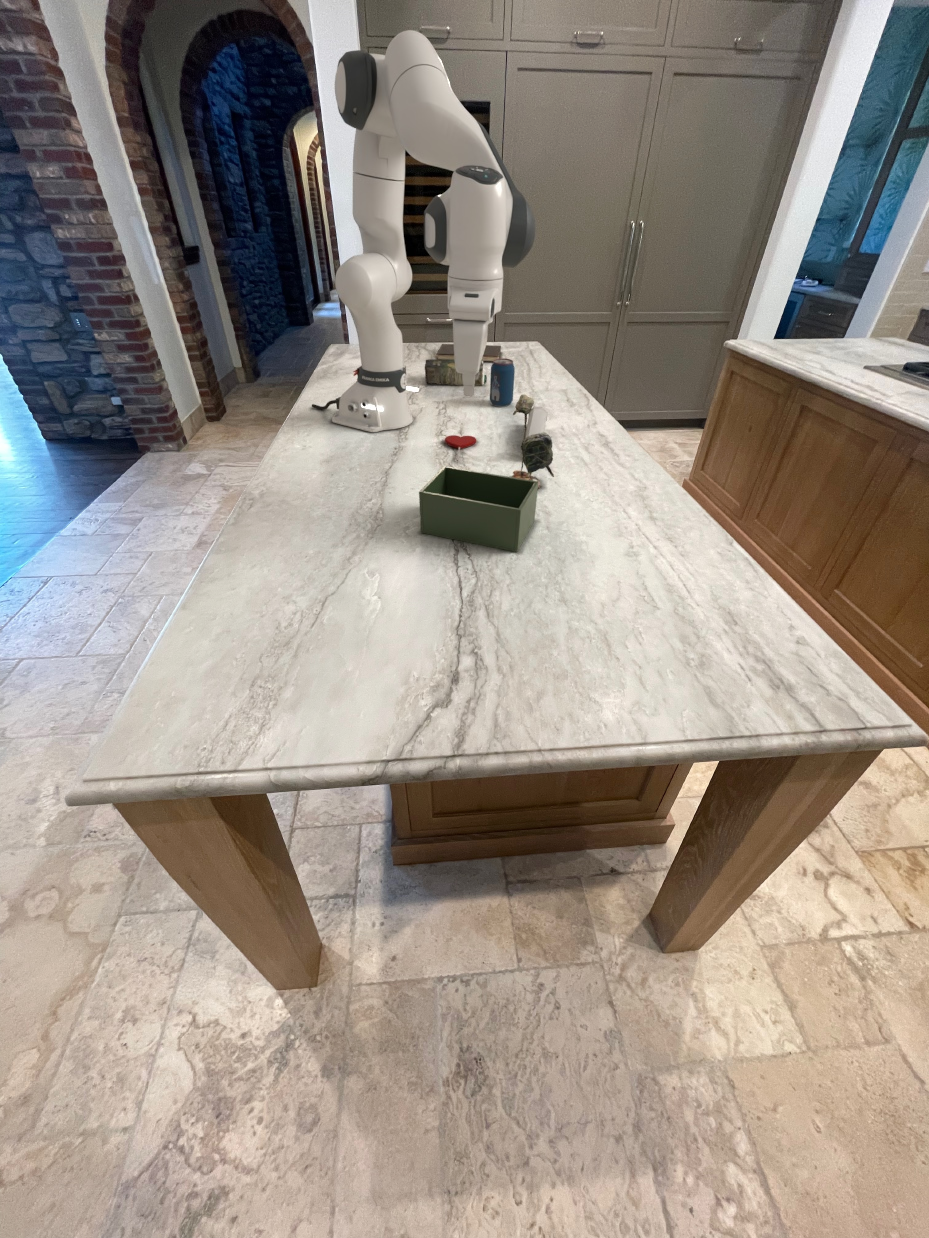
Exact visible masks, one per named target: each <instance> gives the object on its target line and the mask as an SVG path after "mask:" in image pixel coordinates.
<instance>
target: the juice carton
mask: <svg viewBox="0 0 929 1238" xmlns="http://www.w3.org/2000/svg"><path fill="white" fill-rule="evenodd" d="M484 363H485V362H483V361H481V364H480V368H479V377H478V379H477V380H475V387H476V386H477V387H479V386H484V384H486V383H487V382H488V377H487V374H485V366H484ZM424 372H425V374H424V375H425V382H426V384H427V385H428V384H433V383H435V384H437V385H444V386H445V385H447V386H463V378H462V373H458V372H457V371H456V366H455V360H437V359H434V358H433V359H429V358H428V359H425V364H424Z"/></svg>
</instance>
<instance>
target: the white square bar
mask: <svg viewBox="0 0 929 1238" xmlns="http://www.w3.org/2000/svg"><path fill="white" fill-rule="evenodd" d="M548 412H549V411H547V410H546V409H545V408H544V407H542V406H532V409H531V411H530V413H529V414H527V425H526V427H527V429H526V438H527V437H528V436H530V435H533V434H534V435H535V434H538V433H543V432H544V433H545V429H546V422H547V420H548V415H549V414H548Z"/></svg>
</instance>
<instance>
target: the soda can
mask: <svg viewBox="0 0 929 1238" xmlns="http://www.w3.org/2000/svg"><path fill="white" fill-rule="evenodd" d="M515 369H516V368H515V365H514V360H513V359H510V358H504V357H503V358H502V357H501V358H499V359H495V360H493V362H492V363H491V366H490V380H489V401H490V403H491V405H492V406H494V407H499V408H506V407H509V406H511V404H512V402H513V401H514V387H515V371H516V370H515Z"/></svg>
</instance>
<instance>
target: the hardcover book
mask: <svg viewBox="0 0 929 1238" xmlns="http://www.w3.org/2000/svg"><path fill="white" fill-rule="evenodd" d="M501 349H502V346H501V345H490V344H489V345H487V344H486V347H485V351H484V354H483V357H482V361H483V363H493V360H495V359H500V356H501ZM436 355H437V358H436V360H455V357H454V343H442V344H441V345H440V347H439V348H438V351H437V352H436Z"/></svg>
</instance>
